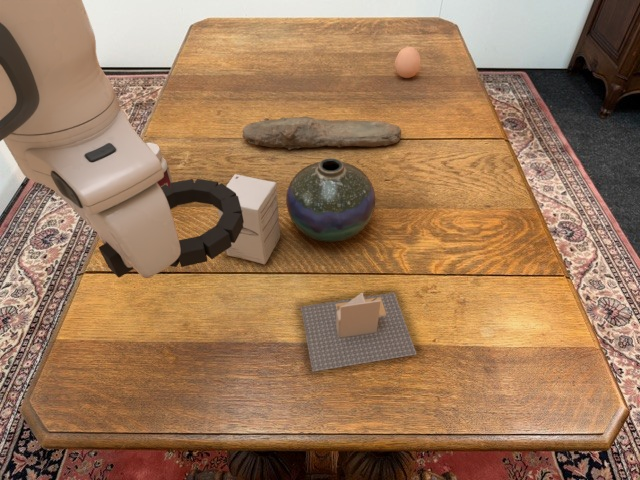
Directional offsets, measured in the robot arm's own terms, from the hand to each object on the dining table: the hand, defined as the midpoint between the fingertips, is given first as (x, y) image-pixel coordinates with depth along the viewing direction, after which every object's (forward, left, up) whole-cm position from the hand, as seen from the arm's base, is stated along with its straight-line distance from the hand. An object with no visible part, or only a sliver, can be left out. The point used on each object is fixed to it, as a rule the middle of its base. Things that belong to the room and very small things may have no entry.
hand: (123, 252), depth 48 cm
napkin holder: (+22, -14, -24) cm, 36 cm away
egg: (+92, +28, -24) cm, 99 cm away
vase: (+36, +4, -24) cm, 44 cm away
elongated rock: (+55, +24, -24) cm, 65 cm away
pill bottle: (+19, +33, -24) cm, 45 cm away
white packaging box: (+23, +10, -24) cm, 35 cm away
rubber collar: (+6, 0, -2) cm, 6 cm away
